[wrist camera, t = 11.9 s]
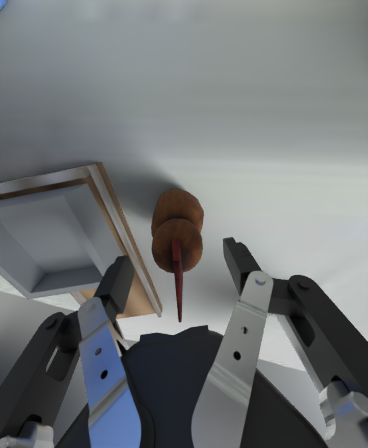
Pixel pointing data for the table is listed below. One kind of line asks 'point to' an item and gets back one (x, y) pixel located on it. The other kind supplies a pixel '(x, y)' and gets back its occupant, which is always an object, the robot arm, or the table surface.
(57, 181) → the rail board
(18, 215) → the shallow grey tray
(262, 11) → the table surface
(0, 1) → the water jug
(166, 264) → the wooden figurine
